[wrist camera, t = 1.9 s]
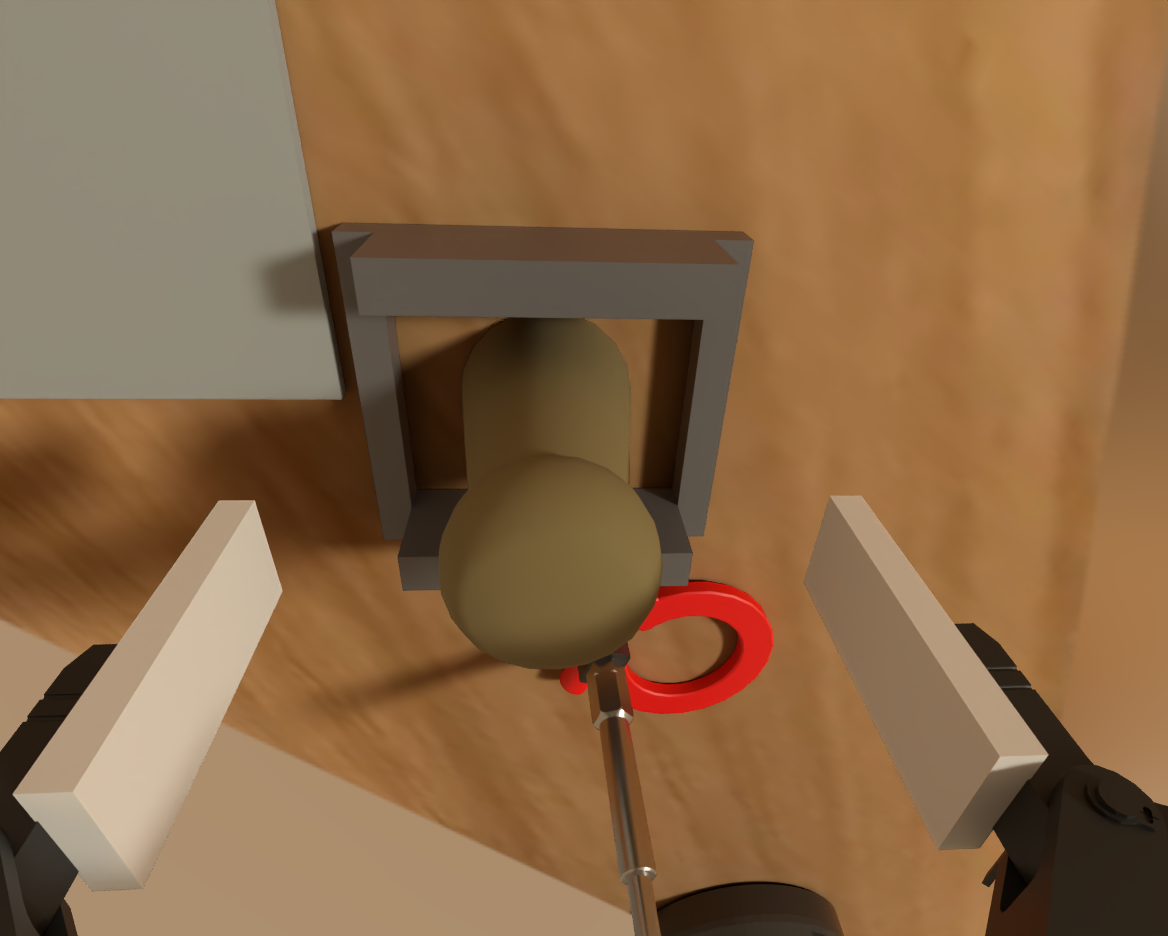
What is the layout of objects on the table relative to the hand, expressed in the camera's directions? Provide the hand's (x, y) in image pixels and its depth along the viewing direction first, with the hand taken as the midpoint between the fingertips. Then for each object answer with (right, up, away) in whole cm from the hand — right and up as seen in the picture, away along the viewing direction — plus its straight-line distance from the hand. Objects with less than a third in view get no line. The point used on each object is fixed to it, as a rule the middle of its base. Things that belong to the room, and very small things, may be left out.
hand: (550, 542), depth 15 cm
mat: (-13, +9, +4) cm, 17 cm away
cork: (-1, +5, +8) cm, 9 cm away
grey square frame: (-1, +4, +8) cm, 9 cm away
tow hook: (+5, -6, +15) cm, 17 cm away
